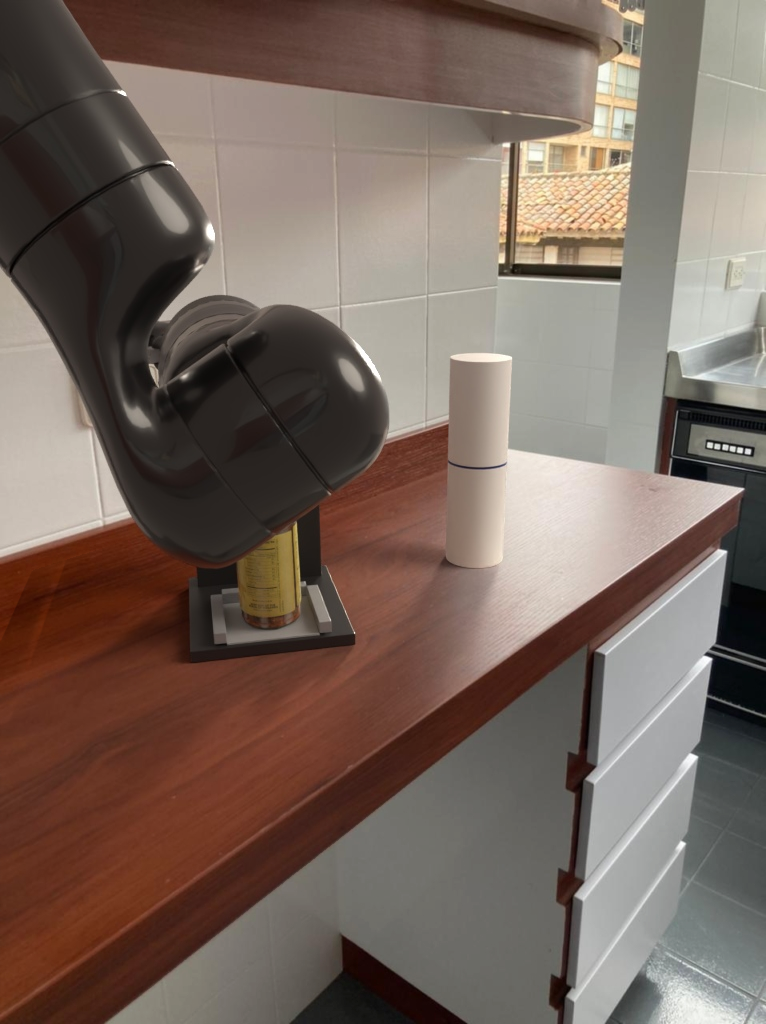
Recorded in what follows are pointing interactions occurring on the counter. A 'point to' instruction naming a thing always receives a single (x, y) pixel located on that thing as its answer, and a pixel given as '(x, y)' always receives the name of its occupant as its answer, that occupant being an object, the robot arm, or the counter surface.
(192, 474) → the robot arm
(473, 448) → the cylindrical container
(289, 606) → the sauce bottle
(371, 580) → the counter surface
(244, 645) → the coffee maker
